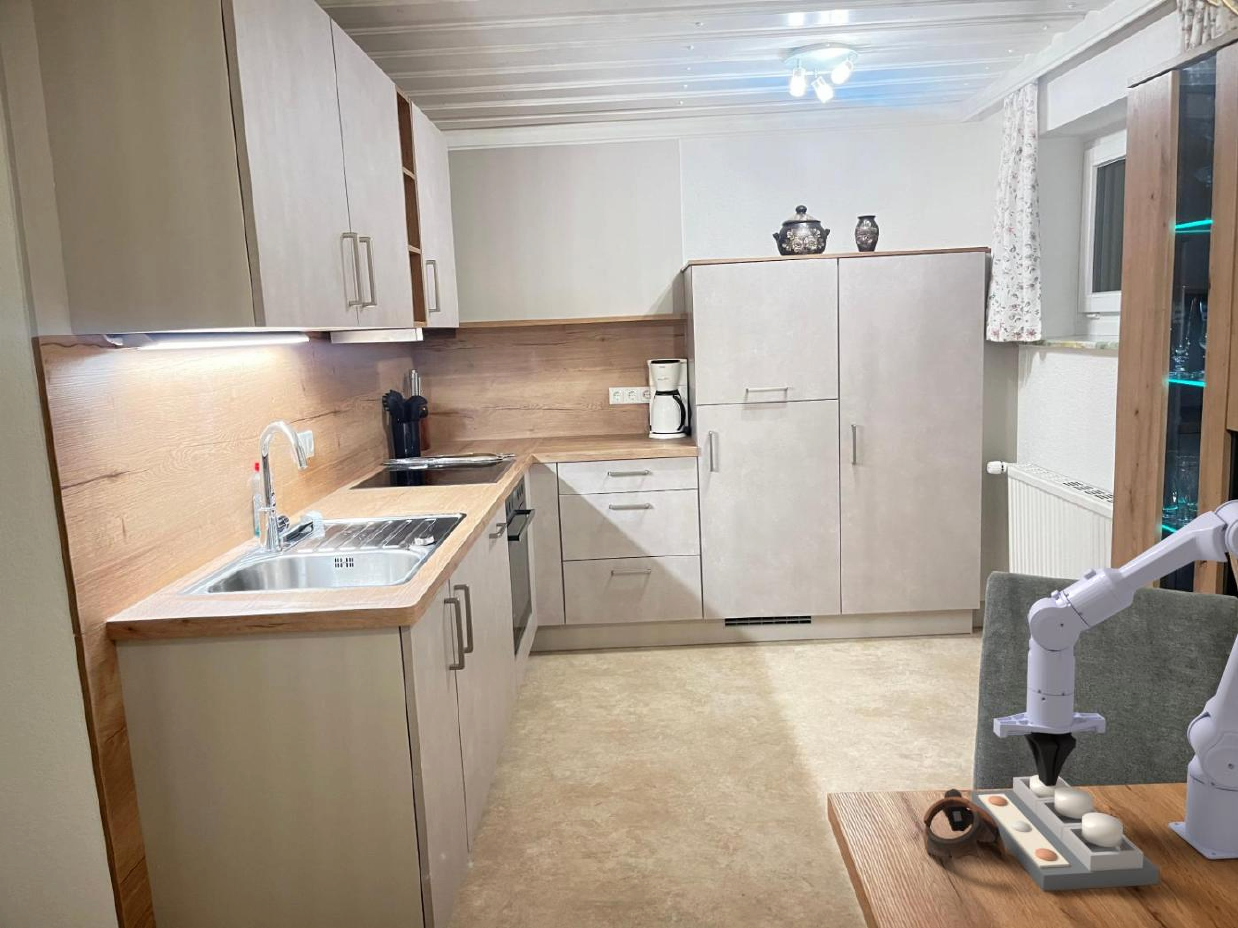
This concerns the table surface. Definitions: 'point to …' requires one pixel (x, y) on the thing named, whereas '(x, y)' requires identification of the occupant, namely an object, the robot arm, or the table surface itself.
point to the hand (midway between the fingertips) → (1047, 782)
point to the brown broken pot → (961, 828)
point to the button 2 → (1102, 829)
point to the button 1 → (1044, 787)
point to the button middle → (1073, 802)
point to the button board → (1060, 843)
